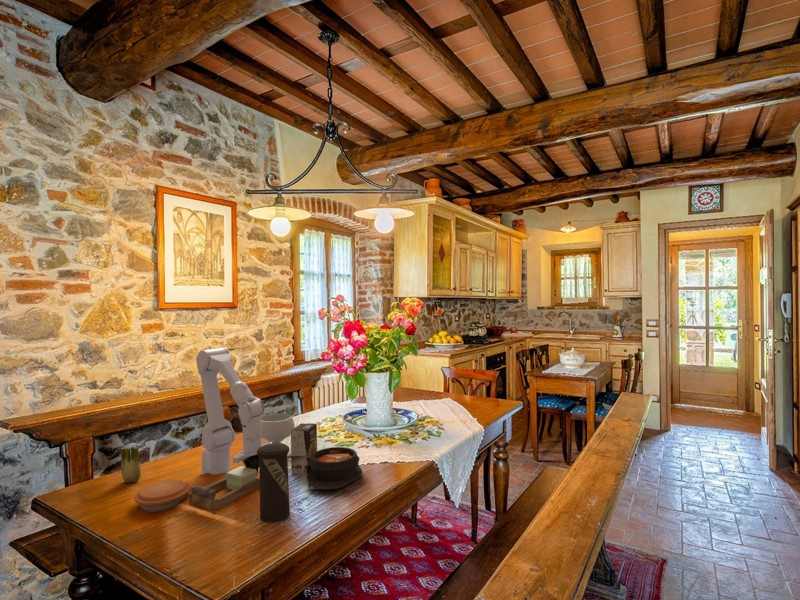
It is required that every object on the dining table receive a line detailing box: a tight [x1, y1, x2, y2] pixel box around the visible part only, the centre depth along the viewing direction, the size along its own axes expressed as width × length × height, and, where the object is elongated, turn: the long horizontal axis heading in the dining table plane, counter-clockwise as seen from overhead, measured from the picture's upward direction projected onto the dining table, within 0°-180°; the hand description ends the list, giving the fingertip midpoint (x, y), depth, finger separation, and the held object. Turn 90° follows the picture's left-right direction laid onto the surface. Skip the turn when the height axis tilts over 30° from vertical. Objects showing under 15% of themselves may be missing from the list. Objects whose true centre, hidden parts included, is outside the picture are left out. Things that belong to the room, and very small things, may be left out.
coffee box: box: [290, 422, 318, 476], centre depth 157 cm, size 9×6×16 cm
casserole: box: [306, 446, 363, 491], centre depth 150 cm, size 25×19×8 cm
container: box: [257, 442, 291, 524], centre depth 126 cm, size 9×9×20 cm
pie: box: [133, 479, 192, 512], centre depth 136 cm, size 16×16×5 cm
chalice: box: [261, 412, 296, 458], centre depth 174 cm, size 14×14×15 cm
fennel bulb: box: [120, 445, 142, 484], centre depth 152 cm, size 6×5×12 cm
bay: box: [188, 477, 260, 515], centre depth 140 cm, size 11×25×6 cm, turn 151°
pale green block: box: [225, 465, 258, 491], centre depth 143 cm, size 7×6×5 cm
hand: (253, 477), depth 147 cm, fingers closed
